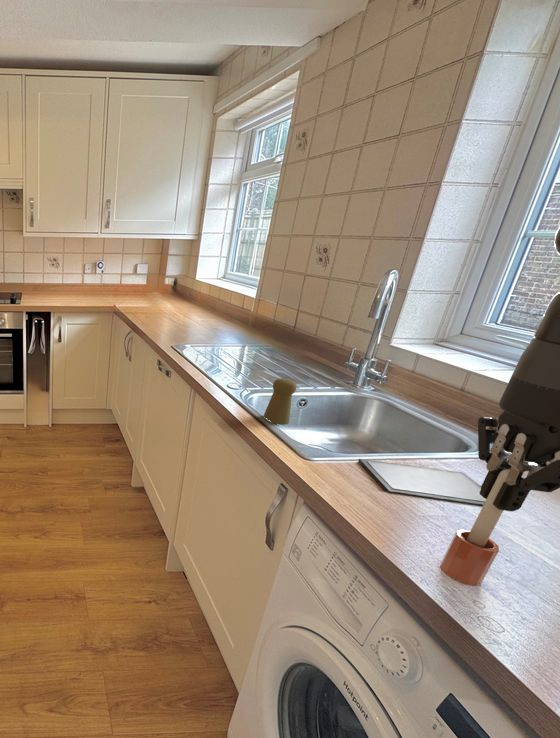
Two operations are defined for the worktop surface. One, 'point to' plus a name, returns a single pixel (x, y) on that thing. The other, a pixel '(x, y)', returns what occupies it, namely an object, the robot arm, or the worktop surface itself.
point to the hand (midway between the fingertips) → (496, 502)
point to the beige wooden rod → (487, 515)
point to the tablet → (424, 482)
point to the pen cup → (468, 559)
